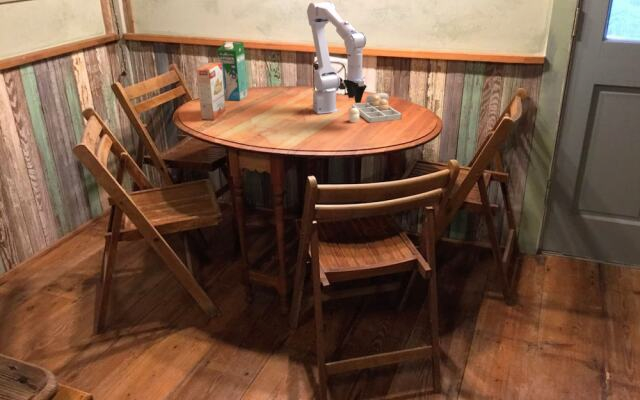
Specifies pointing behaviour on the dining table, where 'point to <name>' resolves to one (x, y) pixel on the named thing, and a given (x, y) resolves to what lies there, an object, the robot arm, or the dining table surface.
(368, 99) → the donut
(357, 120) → the cream egg
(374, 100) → the brown egg
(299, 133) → the dining table surface
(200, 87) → the cracker box
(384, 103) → the brown egg
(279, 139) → the dining table surface
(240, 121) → the dining table surface
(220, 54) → the milk carton
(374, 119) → the egg carton
